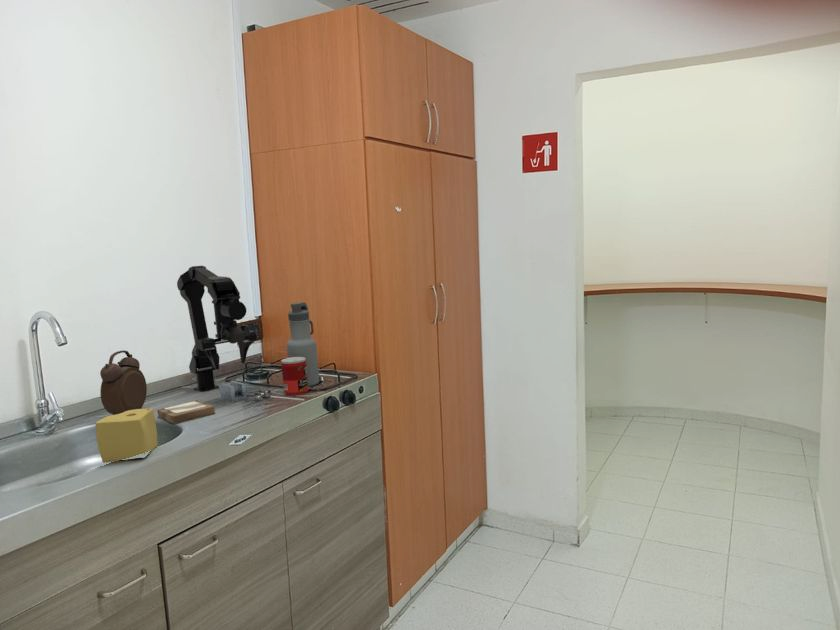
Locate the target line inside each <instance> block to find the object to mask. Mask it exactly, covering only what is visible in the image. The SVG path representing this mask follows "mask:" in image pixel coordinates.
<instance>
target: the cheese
mask: <svg viewBox="0 0 840 630" xmlns="http://www.w3.org/2000/svg"><path fill="white" fill-rule="evenodd" d="M155 417H156V416H155V411H154V408H153V407H152V408H141V409H134V410H128V411H125V412H123V413H120V414H116V415H113V414H111V415H108V416H104V417H103V418H101V419H99V420H98V421H97V422H96V423H95V438H96V443H97V447H98V452H99V455H100V458H101V460H102V463H113V462H114V463H115V462H120V461H119V460H122V459H126V458H130V457H133V456H136V455H139V454H143V453H144V454H145V452H148V451H150V450H152V449H153V450H154V449H155V448H156V447H157V446H158V432H157V431H158V430H157V425H156V418H155ZM153 450H152V451H153Z"/></svg>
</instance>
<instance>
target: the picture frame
mask: <svg viewBox="0 0 840 630" xmlns="http://www.w3.org/2000/svg"><path fill="white" fill-rule="evenodd" d="M156 411H157V417H158V418H159V419H162V420H164V421H166V422H168V423H171V424H173V425H176V424H177V425H178V424H180V423H185V422H188V421H193V420H196V419H199V418H203V417H206V416H211V415H215V413H216V411H215V406H214V405H212V404H209V403H205V402H203V401H199V400H197V399H196V400H193V401H188V402H184V403H180V404H176V405H171V406H167V407H164V408H160V409H157V410H156Z"/></svg>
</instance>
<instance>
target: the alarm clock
mask: <svg viewBox="0 0 840 630" xmlns="http://www.w3.org/2000/svg"><path fill="white" fill-rule="evenodd" d="M122 353H124V354H125V357H123V358H121V359H120V361H118V362H117V363H115V362H114V363H113V361H114V357H116V356H117V355H119V354H122ZM140 366H141V364H140V361H139V360H138V359H137V358H135V357H133V354H131V353H130V352H129V351H128V350H118V351H116V352H113V353H112V354H111V355H110V356H109V360H108V363H105V365H104V366H102V368H101V369H100V374H99V376H100V378H101V380H102V381H101V385H100V400H101V404H102V406H103V407H104V408H103V409H105V411H106V412H107V413H109V414H111V415H116V414H120V413H123V412H125V411H128V410H134V409H143V406H144V404H145V401H146V399H147V392H148V390H147V380H146V377H145V374H144V373H143V372H142V371H141V369H140Z"/></svg>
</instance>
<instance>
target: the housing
mask: <svg viewBox="0 0 840 630" xmlns="http://www.w3.org/2000/svg"><path fill="white" fill-rule="evenodd" d="M229 383H230V384H227V383H225V382H220V383H218V386H219V387H218V388H219V396H220V399H222V400H225V401H228V402H230V403H235V402H237V401H242V400H245V399H247V389H246V383H243V382H240V381H237V380H230V381H229Z"/></svg>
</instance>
